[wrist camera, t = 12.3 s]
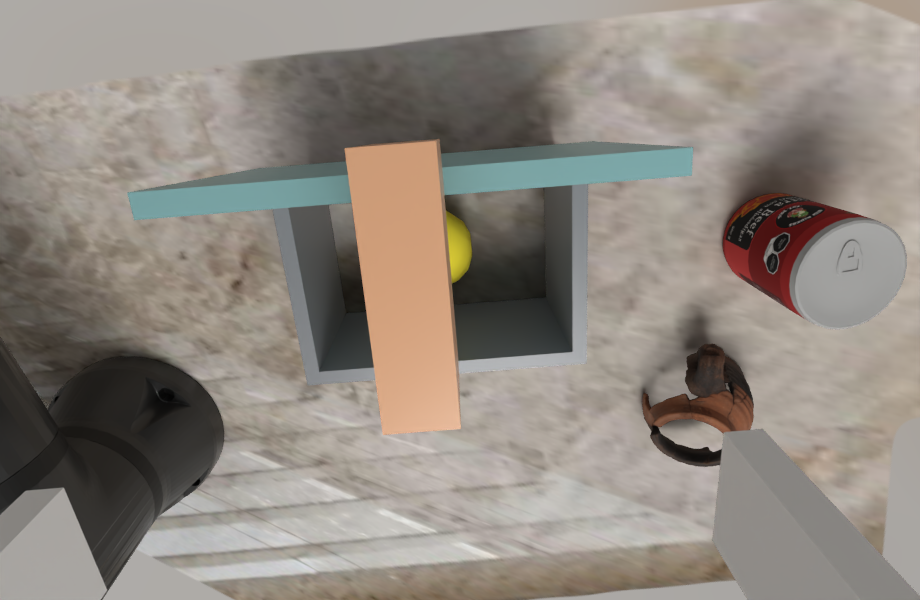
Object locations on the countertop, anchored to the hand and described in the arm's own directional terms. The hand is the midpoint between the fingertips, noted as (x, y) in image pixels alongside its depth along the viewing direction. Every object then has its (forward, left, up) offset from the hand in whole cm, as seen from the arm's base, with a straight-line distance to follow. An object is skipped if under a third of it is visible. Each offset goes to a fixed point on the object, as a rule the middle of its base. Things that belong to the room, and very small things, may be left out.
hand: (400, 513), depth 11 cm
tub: (0, -4, -37) cm, 37 cm away
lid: (0, -2, -15) cm, 15 cm away
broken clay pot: (+23, -20, -37) cm, 48 cm away
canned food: (+28, -6, -37) cm, 47 cm away
